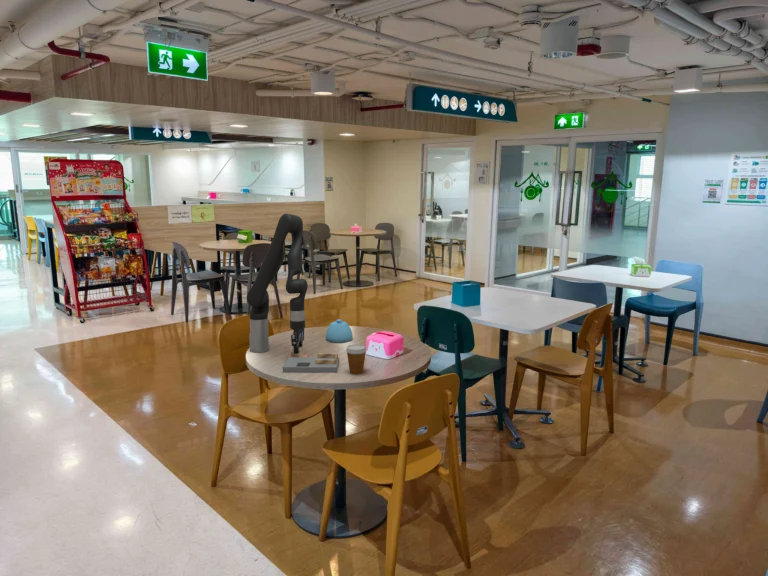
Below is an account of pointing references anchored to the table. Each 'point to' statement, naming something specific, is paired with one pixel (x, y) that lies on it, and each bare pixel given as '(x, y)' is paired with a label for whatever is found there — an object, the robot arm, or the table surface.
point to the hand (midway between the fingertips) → (298, 351)
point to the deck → (309, 365)
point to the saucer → (301, 356)
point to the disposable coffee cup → (356, 358)
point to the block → (300, 352)
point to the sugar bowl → (339, 332)
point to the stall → (327, 360)
